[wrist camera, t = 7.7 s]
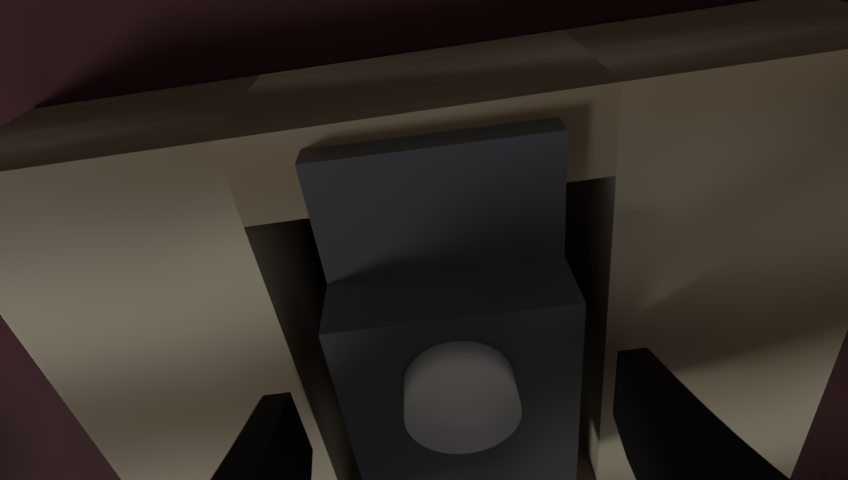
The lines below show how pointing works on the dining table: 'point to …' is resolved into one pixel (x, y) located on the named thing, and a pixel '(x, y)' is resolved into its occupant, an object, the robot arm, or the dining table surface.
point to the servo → (451, 301)
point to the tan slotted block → (422, 114)
